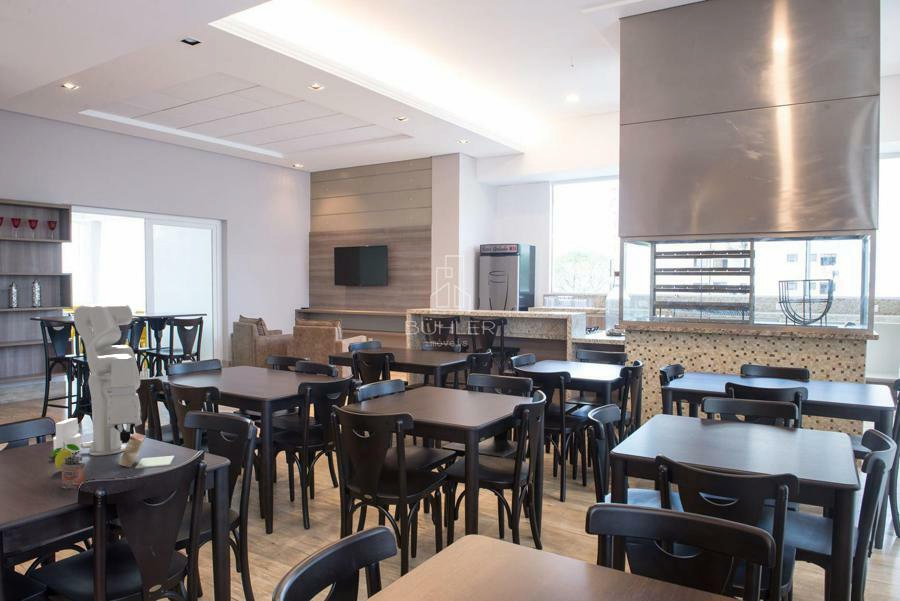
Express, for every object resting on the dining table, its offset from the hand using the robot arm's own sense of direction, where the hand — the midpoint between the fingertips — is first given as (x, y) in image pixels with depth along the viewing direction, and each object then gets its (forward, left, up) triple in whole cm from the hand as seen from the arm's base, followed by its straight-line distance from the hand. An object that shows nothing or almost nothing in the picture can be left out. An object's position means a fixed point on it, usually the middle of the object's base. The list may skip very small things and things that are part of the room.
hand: (125, 442), depth 213 cm
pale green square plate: (+9, 0, -8) cm, 13 cm away
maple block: (0, 0, -8) cm, 8 cm away
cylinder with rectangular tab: (-26, +27, -9) cm, 39 cm away
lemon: (-19, 0, -9) cm, 21 cm away
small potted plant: (-11, -20, -9) cm, 24 cm away
